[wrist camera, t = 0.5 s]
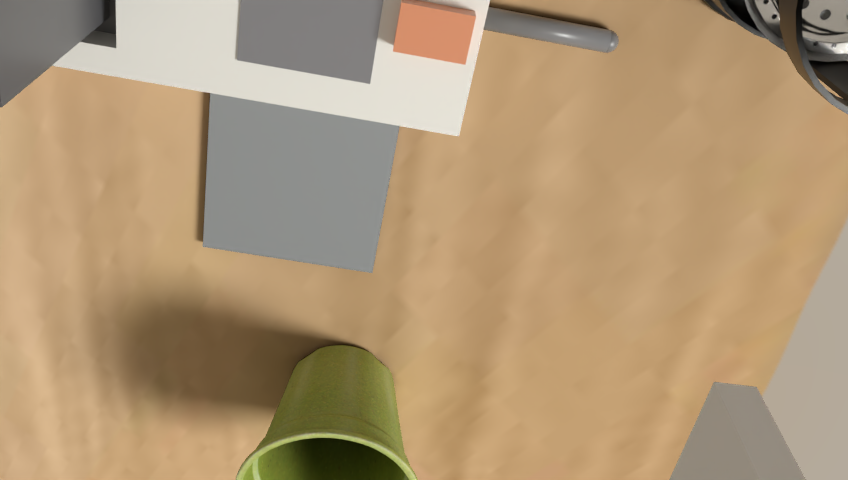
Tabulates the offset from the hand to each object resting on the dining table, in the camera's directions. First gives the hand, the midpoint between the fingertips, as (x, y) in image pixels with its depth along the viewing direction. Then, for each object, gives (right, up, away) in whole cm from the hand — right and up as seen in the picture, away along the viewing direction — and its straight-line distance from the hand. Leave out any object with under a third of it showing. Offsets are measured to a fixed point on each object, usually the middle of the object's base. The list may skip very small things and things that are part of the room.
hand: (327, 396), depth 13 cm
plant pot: (-3, -6, +34) cm, 34 cm away
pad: (-5, +6, +26) cm, 27 cm away
